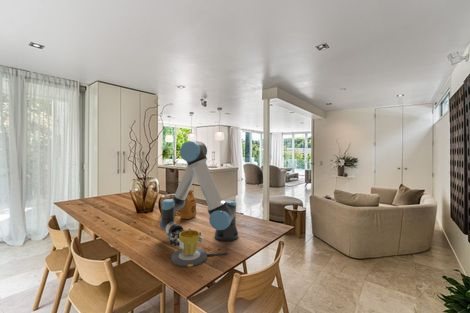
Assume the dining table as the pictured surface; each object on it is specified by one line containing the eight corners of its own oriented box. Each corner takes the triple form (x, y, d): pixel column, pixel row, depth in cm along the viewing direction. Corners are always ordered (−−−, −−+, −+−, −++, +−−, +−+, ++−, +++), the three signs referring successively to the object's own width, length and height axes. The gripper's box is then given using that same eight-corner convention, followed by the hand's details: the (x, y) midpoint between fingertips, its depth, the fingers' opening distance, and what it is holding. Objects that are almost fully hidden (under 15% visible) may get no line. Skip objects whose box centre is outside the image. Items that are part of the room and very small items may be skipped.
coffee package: (198, 216, 188) (198, 190, 187) (188, 220, 177) (188, 192, 176) (188, 214, 192) (188, 188, 191) (178, 218, 181) (178, 191, 181)
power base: (224, 246, 131) (224, 244, 131) (232, 262, 113) (232, 259, 113) (171, 251, 124) (171, 249, 124) (170, 269, 106) (170, 266, 106)
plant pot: (183, 258, 110) (184, 238, 110) (175, 250, 119) (176, 232, 118) (202, 253, 116) (203, 234, 116) (194, 245, 125) (194, 228, 124)
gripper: (192, 232, 138) (212, 244, 121) (154, 241, 124) (171, 257, 107) (192, 220, 138) (212, 230, 121) (154, 228, 124) (171, 241, 107)
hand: (193, 243), depth 114 cm, fingers closed on plant pot, 10 cm apart
